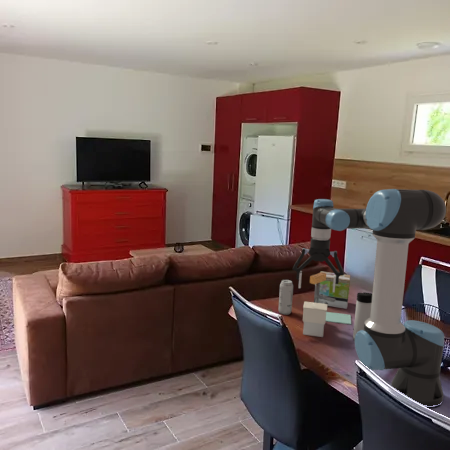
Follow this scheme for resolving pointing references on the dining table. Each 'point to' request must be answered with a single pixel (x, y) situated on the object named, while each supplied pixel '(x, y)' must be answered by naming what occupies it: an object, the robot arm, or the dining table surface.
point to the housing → (313, 329)
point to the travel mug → (362, 311)
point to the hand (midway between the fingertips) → (316, 289)
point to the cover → (314, 312)
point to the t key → (316, 280)
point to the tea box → (340, 290)
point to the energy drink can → (285, 297)
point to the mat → (338, 318)
